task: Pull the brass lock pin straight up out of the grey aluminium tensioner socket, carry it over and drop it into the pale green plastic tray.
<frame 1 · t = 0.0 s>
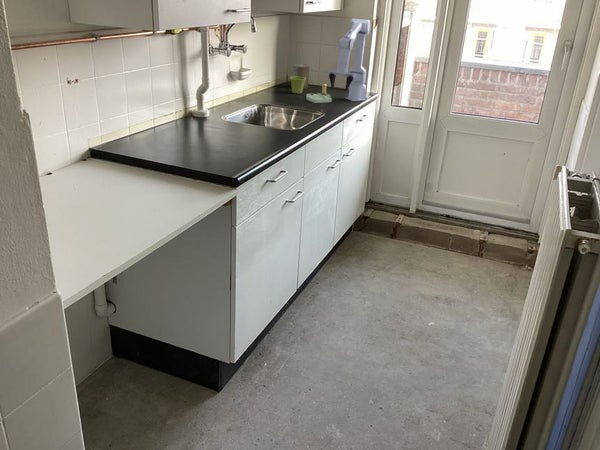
hand: (339, 90, 276), 11 cm above the kitchen counter, tool pointing down, fingers open, 7 cm apart
tray: (318, 100, 299), on the kitchen counter
pillar candle: (300, 88, 330), on the kitchen counter
idler pulley: (312, 97, 307), on the kitchen counter
plant pot: (297, 93, 316), on the kitchen counter
tensioner socket: (323, 97, 309), on the kitchen counter
lock pin: (323, 90, 307), in the tensioner socket
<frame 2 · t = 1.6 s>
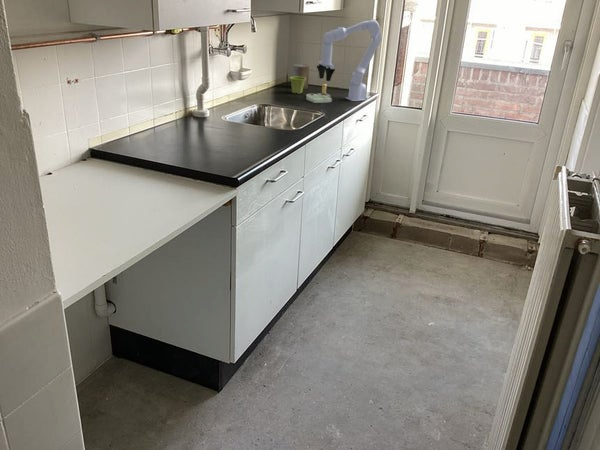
hand: (324, 79, 305), 10 cm above the kitchen counter, tool pointing down, fingers open, 7 cm apart
nothing on the kitchen counter moved.
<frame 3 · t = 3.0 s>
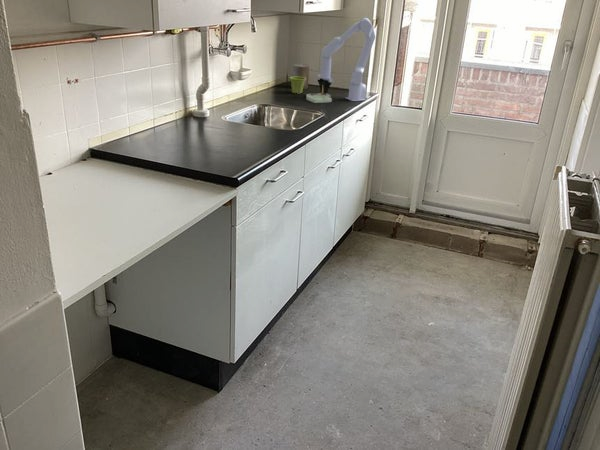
hand: (323, 92, 308), 2 cm above the kitchen counter, tool pointing down, fingers closed on lock pin, 3 cm apart
lock pin: (323, 90, 307), in the tensioner socket, touching gripper
everything else where it was.
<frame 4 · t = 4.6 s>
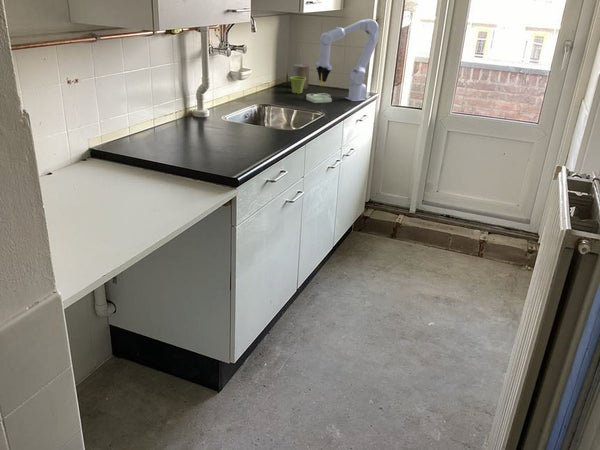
hand: (322, 81, 300), 10 cm above the kitchen counter, tool pointing down, fingers closed on lock pin, 3 cm apart
lock pin: (322, 79, 300), point 11 cm above the kitchen counter, touching gripper
everything else where it was.
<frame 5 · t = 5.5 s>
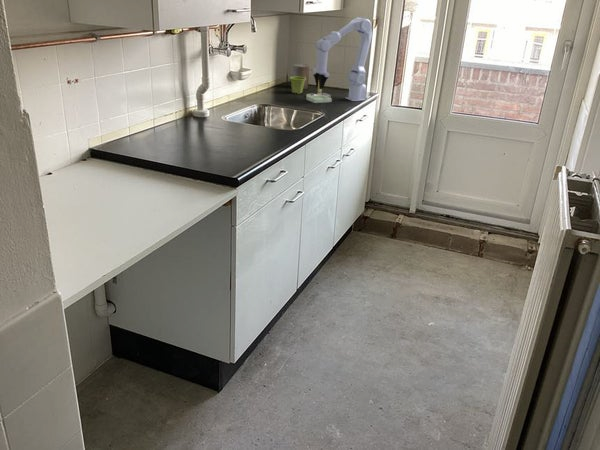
hand: (319, 88, 296), 7 cm above the kitchen counter, tool pointing down, fingers closed on lock pin, 3 cm apart
lock pin: (320, 86, 295), point 8 cm above the kitchen counter, touching gripper
everything else where it was.
when the fingers open (4 cm above the kitchen counter, at t = 6.4 s): lock pin stays where it is, resting on tray.
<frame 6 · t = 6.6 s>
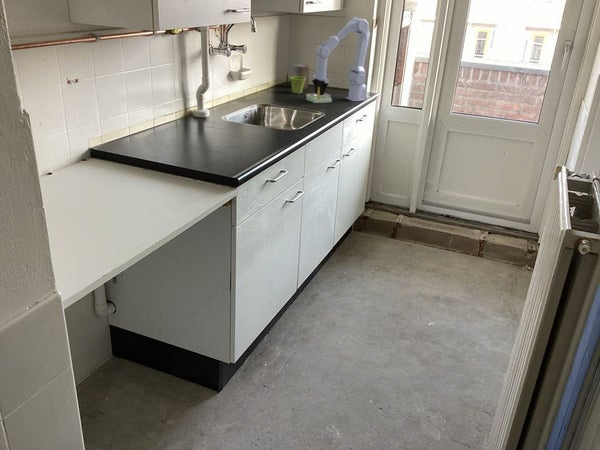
hand: (319, 93, 297), 4 cm above the kitchen counter, tool pointing down, fingers open, 5 cm apart
lock pin: (319, 93, 297), in the tray, point 4 cm above the kitchen counter
everything else where it was.
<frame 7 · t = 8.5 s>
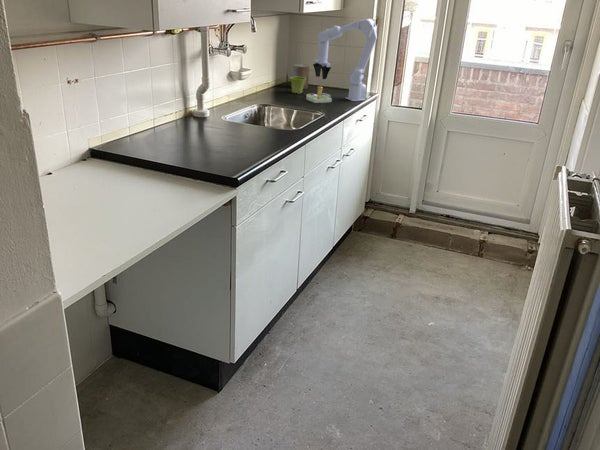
hand: (321, 77, 309), 10 cm above the kitchen counter, tool pointing down, fingers open, 7 cm apart
nothing on the kitchen counter moved.
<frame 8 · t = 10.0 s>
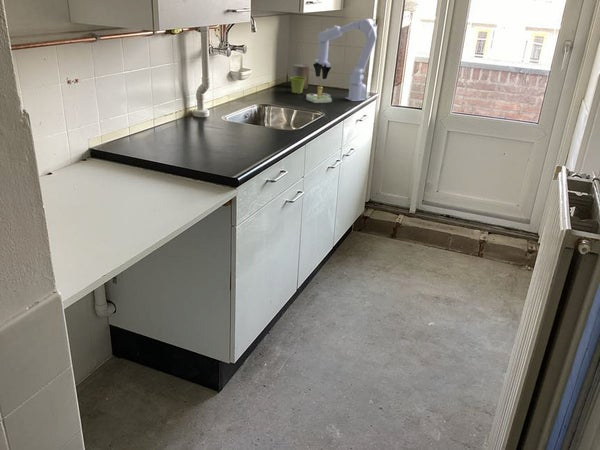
hand: (321, 77, 310), 10 cm above the kitchen counter, tool pointing down, fingers open, 7 cm apart
nothing on the kitchen counter moved.
at the end: lock pin inside the target area on the tray (0.4 cm from its centre), point 4.2 cm above the tray's base; the gripper is holding nothing; lock pin moved 11.3 cm from its start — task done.
